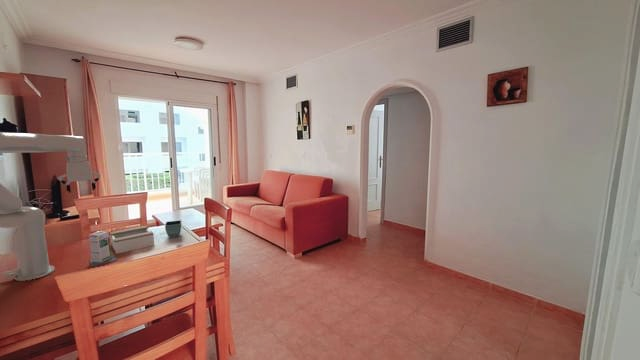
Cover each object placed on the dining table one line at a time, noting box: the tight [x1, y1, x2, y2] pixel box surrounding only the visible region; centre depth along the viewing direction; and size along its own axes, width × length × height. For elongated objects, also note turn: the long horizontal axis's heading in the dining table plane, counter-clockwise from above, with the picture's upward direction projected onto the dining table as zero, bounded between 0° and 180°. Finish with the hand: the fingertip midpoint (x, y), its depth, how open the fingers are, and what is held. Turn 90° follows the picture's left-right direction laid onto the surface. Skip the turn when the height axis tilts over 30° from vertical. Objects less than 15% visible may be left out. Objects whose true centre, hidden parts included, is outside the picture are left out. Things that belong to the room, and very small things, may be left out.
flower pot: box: [164, 219, 182, 239], centre depth 171 cm, size 9×9×9 cm
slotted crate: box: [109, 225, 155, 255], centre depth 156 cm, size 18×18×8 cm
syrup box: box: [88, 230, 113, 262], centre depth 135 cm, size 6×6×14 cm
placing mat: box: [89, 253, 118, 267], centre depth 136 cm, size 10×10×1 cm
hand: (81, 191), depth 145 cm, fingers open, 9 cm apart
